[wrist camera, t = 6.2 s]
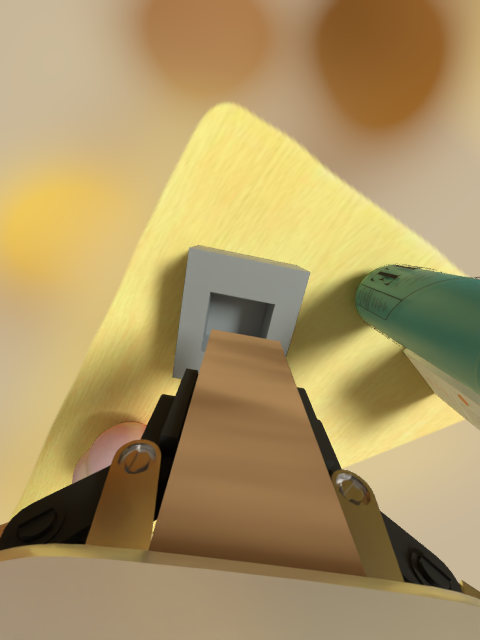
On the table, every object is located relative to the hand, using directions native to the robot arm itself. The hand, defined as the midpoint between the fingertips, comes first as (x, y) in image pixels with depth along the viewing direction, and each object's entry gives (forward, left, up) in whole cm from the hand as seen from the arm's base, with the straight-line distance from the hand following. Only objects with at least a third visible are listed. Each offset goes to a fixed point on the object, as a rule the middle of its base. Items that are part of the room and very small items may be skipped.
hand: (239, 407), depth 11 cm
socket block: (0, 0, -16) cm, 16 cm away
